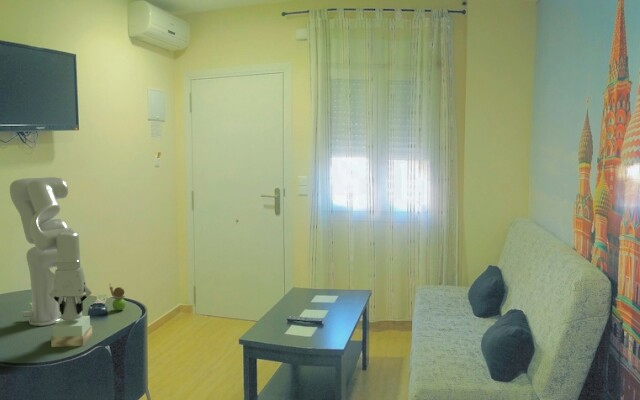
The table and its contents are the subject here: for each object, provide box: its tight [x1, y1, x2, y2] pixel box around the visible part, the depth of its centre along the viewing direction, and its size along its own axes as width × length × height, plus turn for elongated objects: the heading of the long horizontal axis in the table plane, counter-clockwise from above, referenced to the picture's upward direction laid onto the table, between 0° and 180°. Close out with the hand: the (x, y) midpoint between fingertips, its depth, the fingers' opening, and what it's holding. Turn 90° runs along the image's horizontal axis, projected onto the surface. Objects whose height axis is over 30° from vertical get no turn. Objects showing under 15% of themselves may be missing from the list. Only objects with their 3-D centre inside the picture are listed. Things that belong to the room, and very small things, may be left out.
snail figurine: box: [108, 283, 126, 312], centre depth 228 cm, size 5×6×12 cm
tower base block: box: [50, 324, 93, 348], centre depth 196 cm, size 11×11×4 cm
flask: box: [61, 297, 84, 320], centre depth 194 cm, size 7×7×10 cm
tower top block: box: [52, 315, 91, 337], centre depth 195 cm, size 10×10×4 cm
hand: (71, 312), depth 194 cm, fingers closed on flask, 4 cm apart
